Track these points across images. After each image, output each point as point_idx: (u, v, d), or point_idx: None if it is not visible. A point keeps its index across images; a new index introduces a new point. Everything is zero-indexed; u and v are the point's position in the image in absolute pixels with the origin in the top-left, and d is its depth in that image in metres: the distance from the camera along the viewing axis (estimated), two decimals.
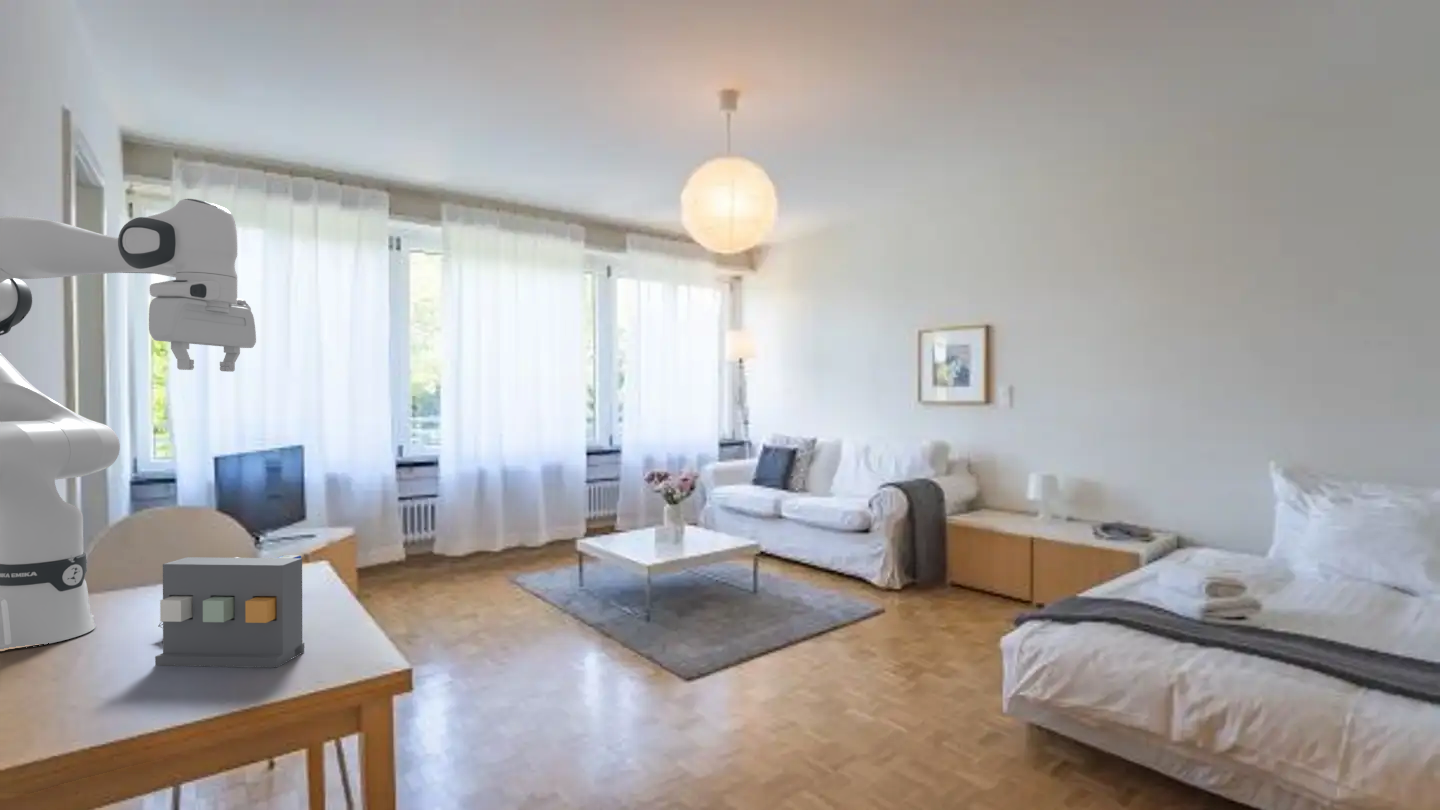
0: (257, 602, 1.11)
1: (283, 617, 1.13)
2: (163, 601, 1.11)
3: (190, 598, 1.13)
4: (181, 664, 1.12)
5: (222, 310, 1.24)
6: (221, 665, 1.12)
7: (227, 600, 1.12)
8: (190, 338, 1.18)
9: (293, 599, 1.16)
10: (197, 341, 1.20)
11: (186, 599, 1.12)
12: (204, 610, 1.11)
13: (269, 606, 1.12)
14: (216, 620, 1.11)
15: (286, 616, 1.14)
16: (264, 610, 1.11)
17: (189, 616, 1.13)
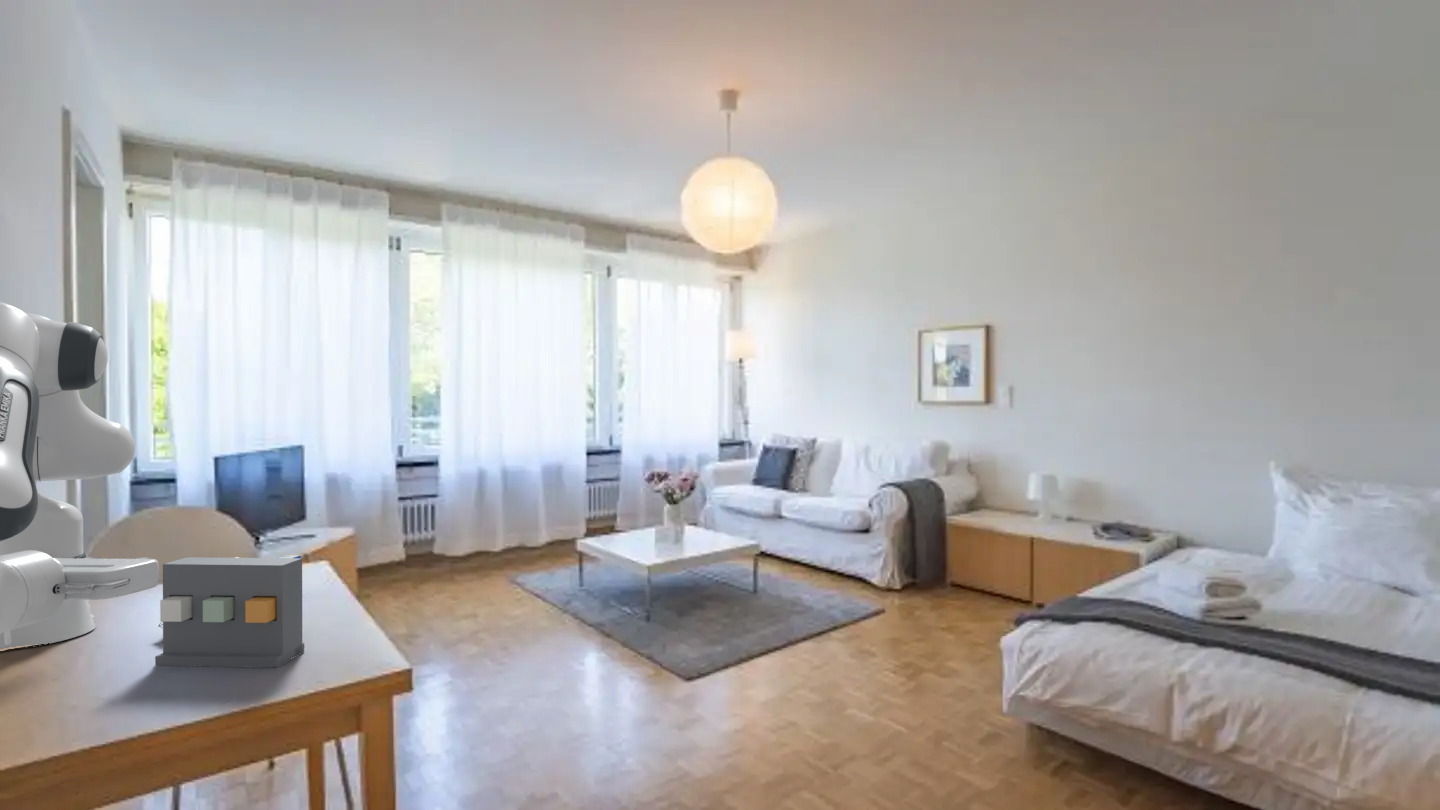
0: (257, 602, 1.11)
1: (283, 617, 1.13)
2: (163, 601, 1.11)
3: (190, 598, 1.13)
4: (181, 664, 1.12)
5: None
6: (221, 665, 1.12)
7: (227, 600, 1.12)
8: None
9: (293, 599, 1.16)
10: None
11: (186, 599, 1.12)
12: (204, 610, 1.11)
13: (269, 606, 1.12)
14: (216, 620, 1.11)
15: (286, 616, 1.14)
16: (264, 610, 1.11)
17: (189, 616, 1.13)
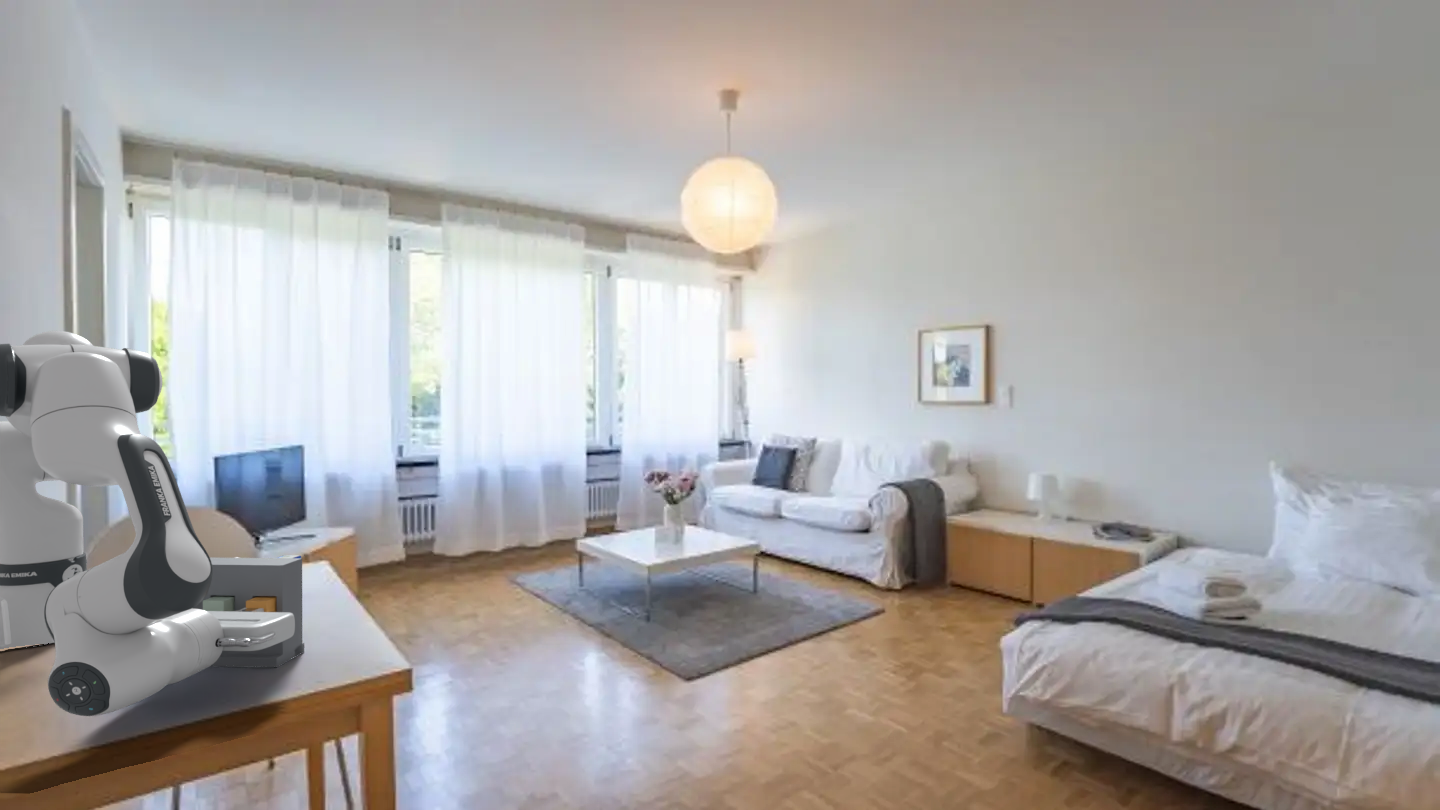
0: (257, 602, 1.11)
1: None
2: None
3: None
4: None
5: None
6: (221, 665, 1.12)
7: (227, 600, 1.12)
8: None
9: (293, 599, 1.16)
10: None
11: None
12: (204, 610, 1.11)
13: (270, 606, 1.12)
14: None
15: None
16: (264, 610, 1.11)
17: None
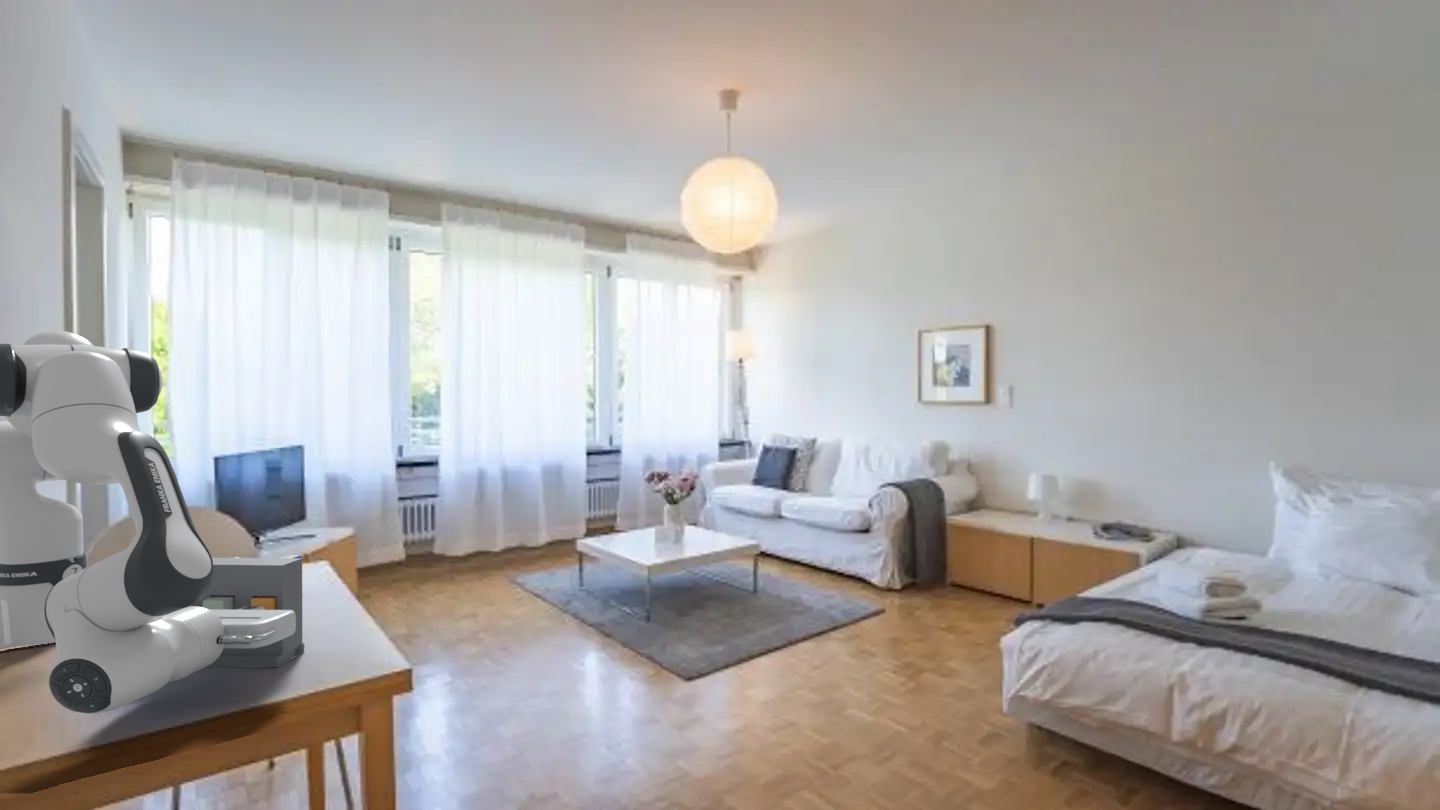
0: (263, 600, 1.12)
1: None
2: None
3: None
4: None
5: None
6: (221, 665, 1.12)
7: (227, 600, 1.12)
8: None
9: (293, 599, 1.16)
10: None
11: None
12: None
13: (275, 604, 1.13)
14: None
15: None
16: (269, 608, 1.12)
17: None
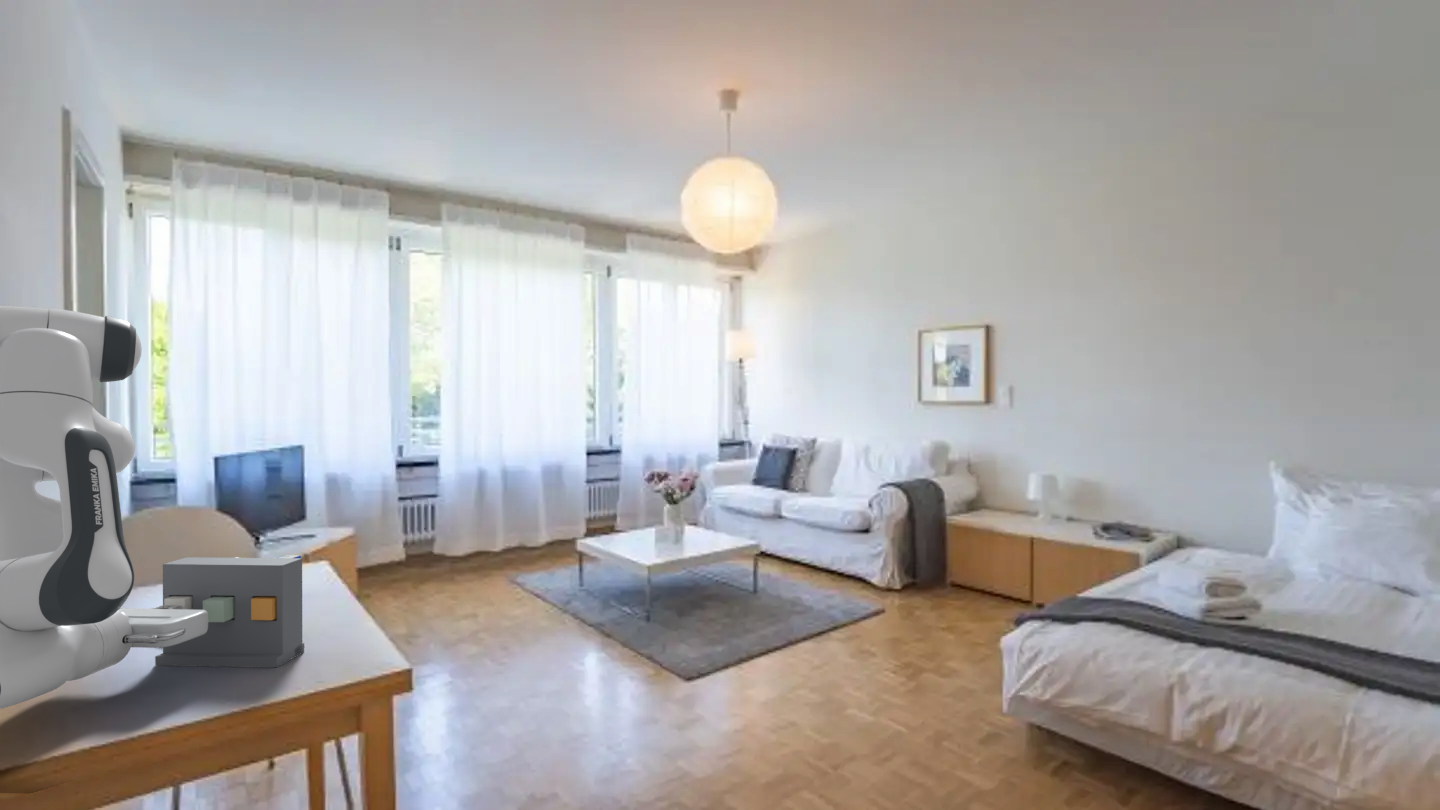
0: (263, 600, 1.12)
1: (283, 617, 1.13)
2: (167, 600, 1.12)
3: None
4: (181, 664, 1.12)
5: None
6: (221, 665, 1.12)
7: (227, 600, 1.12)
8: None
9: (293, 599, 1.16)
10: None
11: (190, 598, 1.13)
12: None
13: (275, 604, 1.13)
14: (216, 620, 1.11)
15: (286, 616, 1.14)
16: (269, 608, 1.12)
17: None
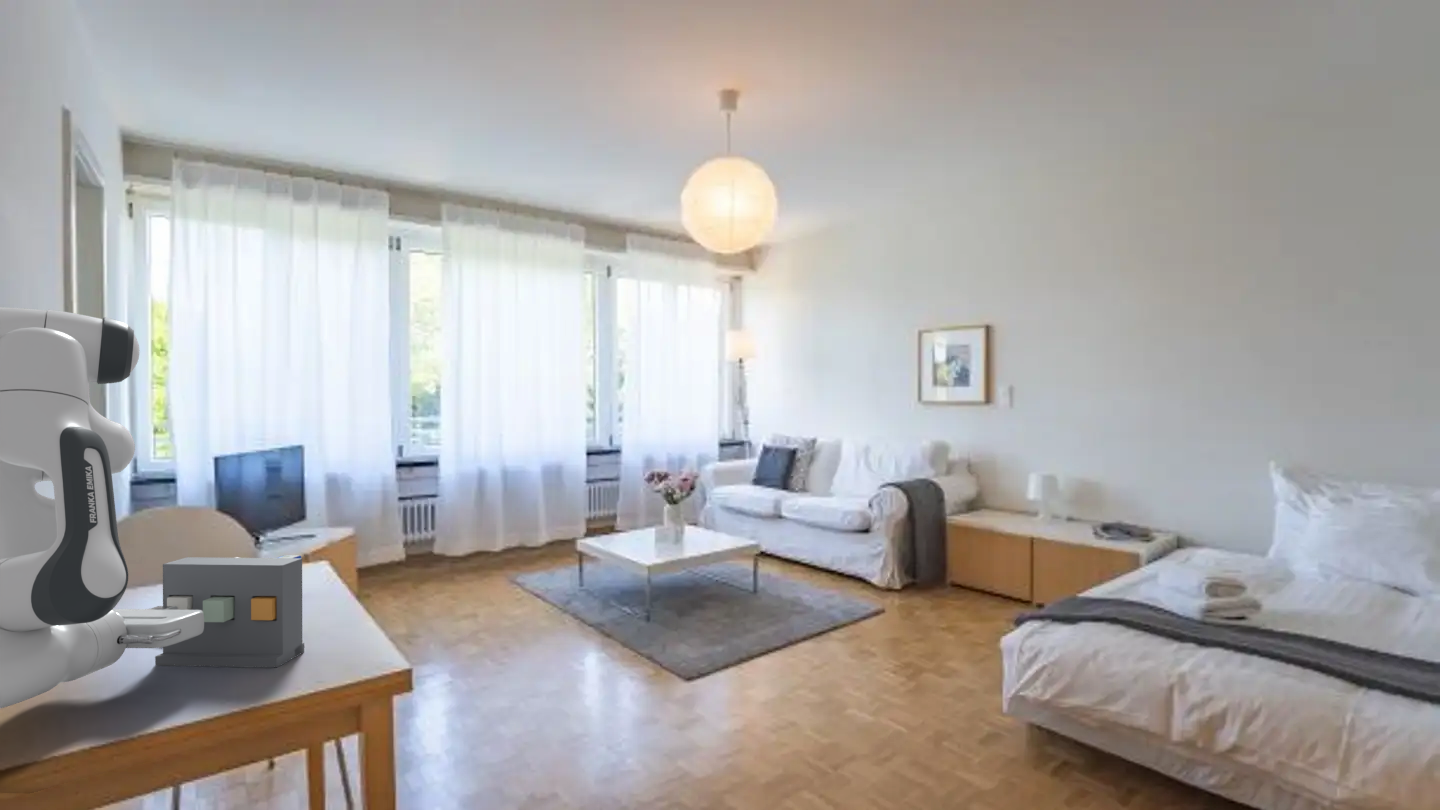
0: (263, 600, 1.12)
1: (283, 617, 1.13)
2: (170, 599, 1.13)
3: None
4: (181, 664, 1.12)
5: None
6: (221, 665, 1.12)
7: (227, 600, 1.12)
8: None
9: (293, 599, 1.16)
10: None
11: (192, 597, 1.14)
12: (204, 610, 1.11)
13: (275, 604, 1.13)
14: (216, 620, 1.11)
15: (286, 616, 1.14)
16: (269, 608, 1.12)
17: None
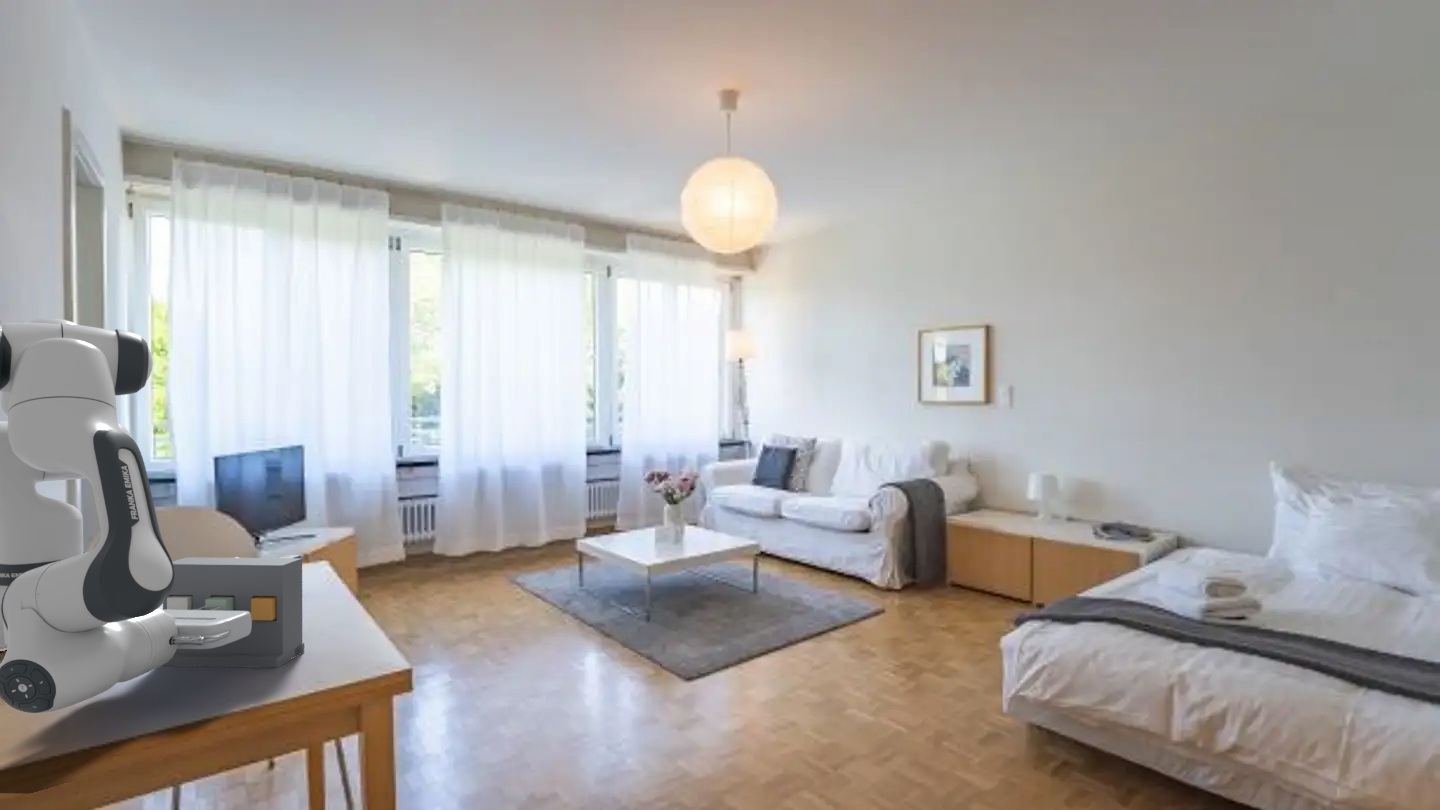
0: (263, 600, 1.12)
1: (283, 617, 1.13)
2: (170, 599, 1.13)
3: None
4: (181, 664, 1.12)
5: None
6: (221, 665, 1.12)
7: (229, 599, 1.12)
8: None
9: (293, 599, 1.16)
10: None
11: (192, 597, 1.14)
12: None
13: (275, 604, 1.13)
14: None
15: (286, 616, 1.14)
16: (269, 608, 1.12)
17: None
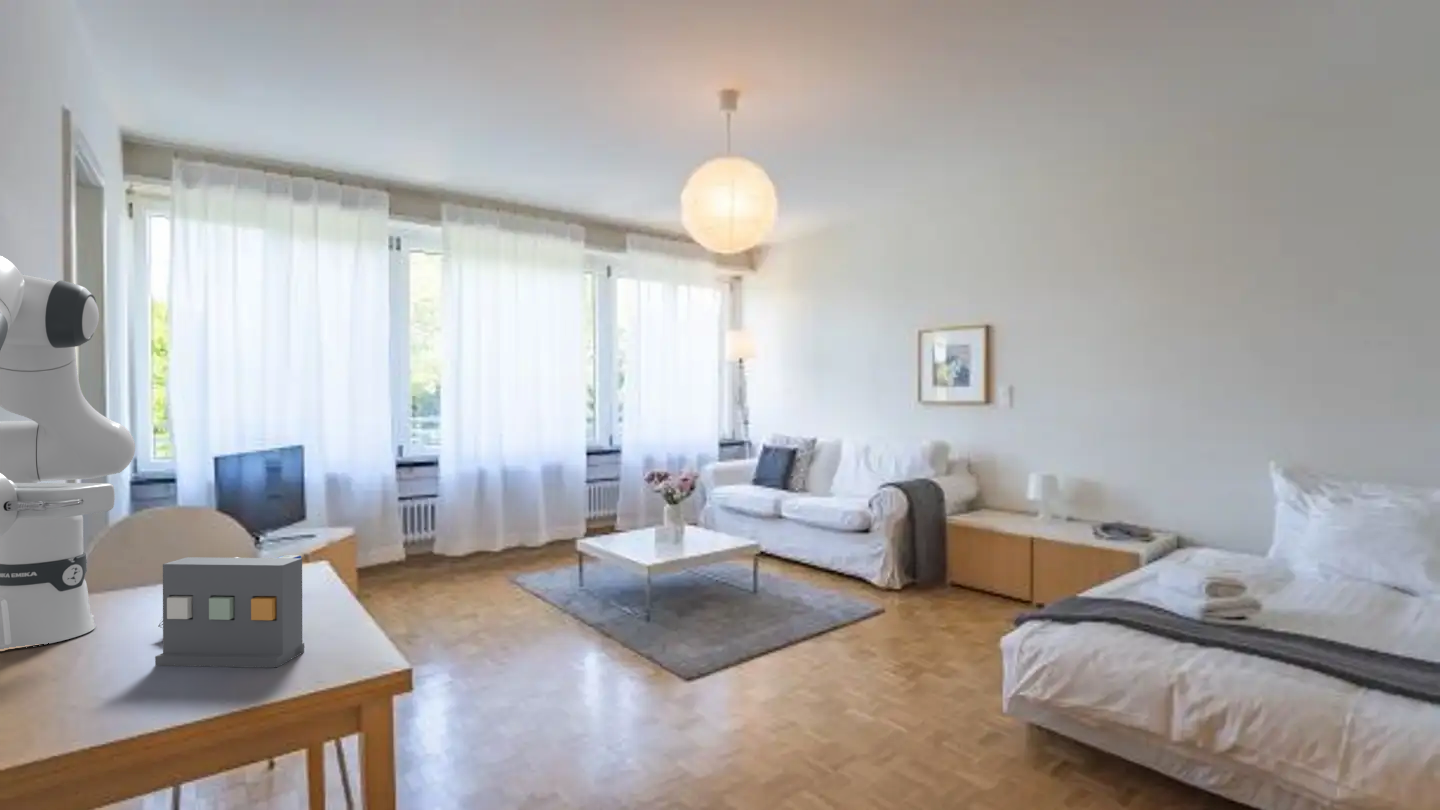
0: (263, 600, 1.12)
1: (283, 617, 1.13)
2: (170, 599, 1.13)
3: None
4: (181, 664, 1.12)
5: None
6: (221, 665, 1.12)
7: (233, 598, 1.13)
8: None
9: (293, 599, 1.16)
10: None
11: (192, 597, 1.14)
12: (210, 608, 1.12)
13: (275, 604, 1.13)
14: (222, 618, 1.12)
15: (286, 616, 1.14)
16: (269, 608, 1.12)
17: None
